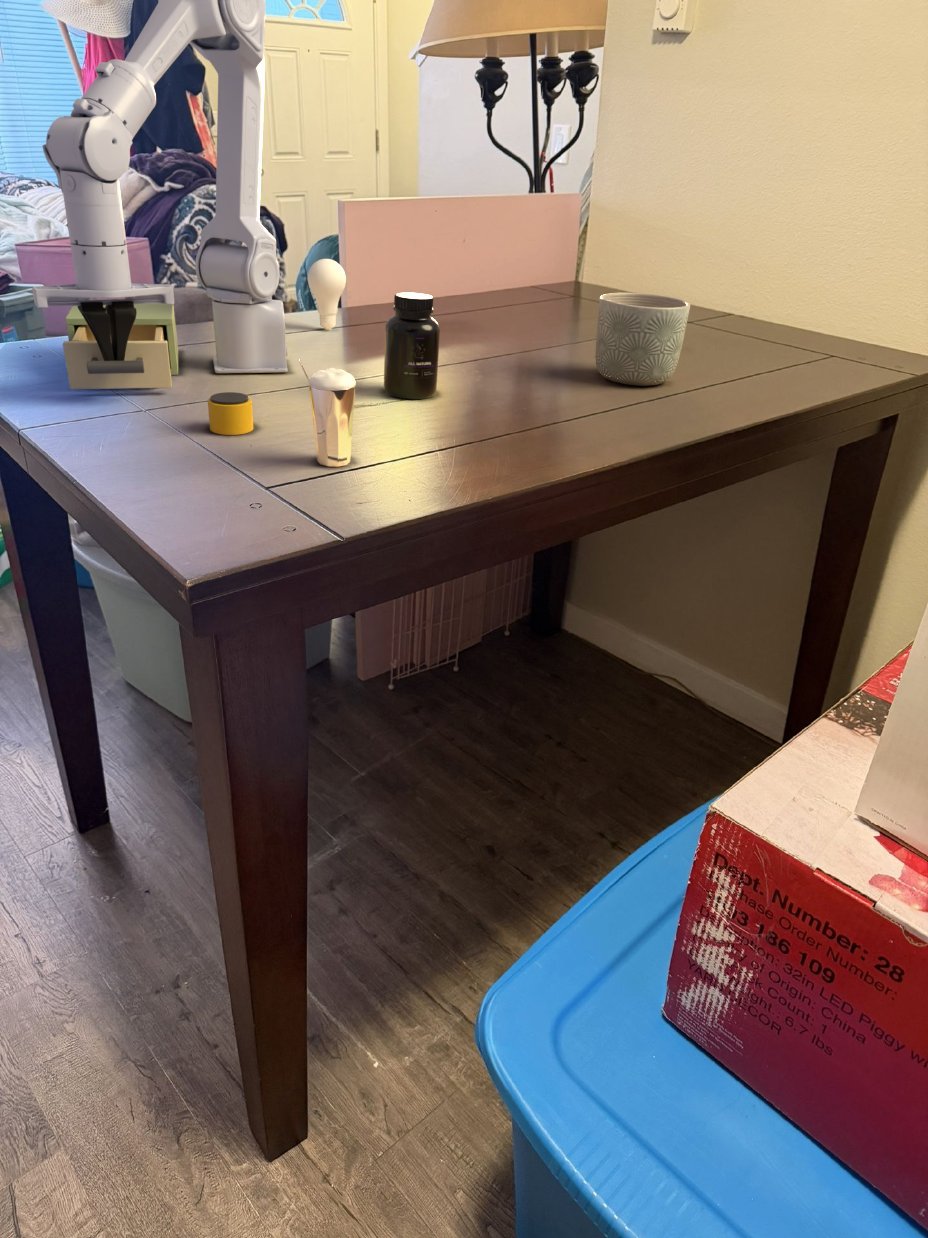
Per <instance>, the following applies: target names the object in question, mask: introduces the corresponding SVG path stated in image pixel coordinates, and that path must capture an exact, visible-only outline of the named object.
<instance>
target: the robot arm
mask: <svg viewBox="0 0 928 1238" xmlns="http://www.w3.org/2000/svg"><path fill="white" fill-rule="evenodd" d="M157 1H158V3H157V4H156V6H155V7H154V9H153V10H152V13H151V14H150V16H149V18H148V20H147V22H146V23H145V25H144V27H143V28H142V30H141V32H140V33H139V35H138V37H137V39H136V40H135V41H134V44H133V45H132V47H131V48H130V50H129V52H128V53H127V55H126V57H125V59H124V60H122V59H117V58H115V59H110V60H108V61H107V62H105V61H104V62H103V61H101V62H99V63H98V65H97V66H96V68H95V69H94V71H95V73H96V75H97V76H96V77H95V78H94V80H93V81H92V82H91V84H90V85H89V87H88V88H87V90H86V91H85V92H84V94H82V96H81V98H76V99H75V101H74V102H73V103H72V107H73V109H72V111H71V113H70V115H64V116H59V117H57V118H56V119H55V120H54V121H52V123H51V124H50V126H49V128H48V131H47V134H46V138H45V139H46V140H45V144H42V151H43V154H44V158H45V159H46V162H47V164H48V165H49V166H50V168H51V169H52V170H53V172H54V173H55V175H56V178H57V184H58V189H60V190H61V193H62V196H63V203H64V209H65V216H66V223H67V230H68V238H69V243H70V251H71V257H72V264H73V272H74V278H75V283H71V284H69V283H68V284H57V285H40V286H39V285H37V286H35V285H34V286H31V289H32V296H33V301H34V306H35V307H36V308H37V309H47V308H49V307H72V306H78V309H79V311H80V313H81V314H82V316H83V317H84V319H85V321H86V322H87V324H88V326H89V328H90V329H91V331H92V333H93V335H94V337H95V339H96V341H97V344H98V346H99V348H100V351H101V353H102V356H103V359H104V361H124V359H125V352H126V346H127V342H128V338H129V335H130V332H131V329H132V326H133V323H134V321H135V319H136V314H137V311H136V308H134V304H159V303H164V304H173V305H175V295H174V287H173V286H172V285H171V284H169V283H162V284H161V283H132V277H131V270H130V262H129V261H130V260H129V252H128V244H127V236H126V229H125V227H126V226H125V220H124V211H123V202H122V192H121V184H120V178H121V177H122V176H123V175H124V174H125V173H127V172H128V170H129V167H130V160H131V151H130V150H131V146H132V145H133V144H134V143H133V139H134V138H135V136H136V134H137V133H138V132H139V130H140V129H141V128H142V126H143V125H144V123H145V122H146V120H147V118H148V117H149V116H150V114H151V112H152V111H153V109H155V107H156V105H157V95H156V91H155V85H156V84H157V83H158V82H159V81H160V79H161V78H162V77H163V76H164V74H165V73H166V72H167V70H169V68H170V67H171V66H172V65H173V63H174V62H175V61H176V60H177V58H178V57H179V56H180V55H181V54H182V52H184V50H185V49H186V47H187V46H188V45H189V44H190V45H191V46H192V47H193V48H194V49H195V51H197V52H198V53H199V54H200V55H201V57H203V58H204V60H207V61H208V62H209V63H210V64H211V66H212V67H213V68H214V70H215V71H216V73H217V77H218V78H217V115H216V117H217V118H216V119H217V120H216V121H217V123H216V170H215V171H216V173H215V175H216V176H215V177H216V178H215V215H214V217H213V218H212V219H211V220H210V221H208V223H206V225H205V226H204V227H203V228H202V229H201V231H200V244H199V247H198V250H197V253H196V256H195V262H194V263H195V265H194V267H195V274H196V277H197V280H198V282H199V284H200V286H202V287H203V289H205V290H206V296H207V298H211V308H212V319H213V320H212V321H213V332H214V333H213V334H214V344H215V356H213V357H212V360H213V369H214V373H216V374H259V373H261V374H262V373H264V374H265V373H269V374H270V373H288V360H287V359H288V358H287V357H288V345H287V340H286V339H287V337H286V336H287V335H286V319H285V318H286V317H285V310H284V309H285V307H284V303H283V300H280V299H273V296H274V294H275V292H276V291H277V289H278V286H279V284H280V275H281V274H280V273H281V271H280V265H279V262H278V258H277V240H276V238H275V237H274V236H273V235H272V234H271V233H270V232H269V230H268V229H266V227H264V226H263V224H262V223H261V222H260V217H261V216H260V215H261V214H260V213H261V190H262V189H261V187H262V186H261V185H262V157H263V133H264V132H263V131H264V103H265V102H264V101H265V79H266V77H265V76H266V74H265V73H266V62H265V37H266V36H265V35H266V11H267V10H266V9H267V8H266V7H267V4H266V1H265V0H157ZM233 242H240V243H243V244H244V245H240V244H239V245H238V244H232V243H233ZM89 299H102V300H89ZM103 305H106V306H105V308H104V307H103ZM110 334H111V335H110ZM111 343H112V345H111Z"/></svg>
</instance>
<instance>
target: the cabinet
mask: <svg viewBox="0 0 928 1238" xmlns="http://www.w3.org/2000/svg"><path fill="white" fill-rule="evenodd" d="M102 299H103V298H90V299H89V300H102ZM174 305H175V304H164V303H159V304H134V308H136V311H137V314H136V319H135V321H134V323H133V325H163V330H164V339H165V341H167V344H168V353H169V363H170V372H171V376H178V375H179V345H178V344H179V343H178V336H177V335H178V333H177V326H176V325H177V324H176V314H175V307H174ZM105 306H106V305H103V307H104V308H105ZM64 321H65V325H66V332H67V338H68V341H72V339H73V337H74V335H75V333H76V331H77V329H78V327H79V325H88V324H87V322H86V321H85V319H84V317H83V316H82V314H81V313H80V311H79V309H78V306H71V308H70V309H69V311H68V313H67V314H66V317H65V319H64Z"/></svg>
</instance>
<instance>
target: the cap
mask: <svg viewBox="0 0 928 1238" xmlns="http://www.w3.org/2000/svg"><path fill="white" fill-rule="evenodd" d="M207 408H208V409H207V410H208V420H209V421H208V422H209V429H210V432H212V433H213V434H218V435H222V436H223V435H224V436H239V435H244V434H248V433H250V432H252V431H253V430H254V413H253V401H252V398H251V397H249V395H247V394H245V393H241V392H233V391H232V392H231V391H227V392H225V391H224V392H218V393H214V394H212V395H211V396H210V397H209V398H208V399H207Z"/></svg>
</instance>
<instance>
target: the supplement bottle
mask: <svg viewBox="0 0 928 1238" xmlns="http://www.w3.org/2000/svg"><path fill="white" fill-rule="evenodd" d="M393 297H394V299H393V306H392V309H393V311H394V312H395V314H394V315H393V316H391V317H389V318H388V319H387V321H386V322H385V328H384V362H383V364H384V365H383V366H384V367H383V368H384V369H383V390H384V391H385V393H386V394H387V395H389V396H392V397H393V398H399V399H405V400H424V399H429V398H432V397H434V396H435V395H436V393H437V387H438V372H439V353H440V352H439V351H440V336H441V335H440V334H441V328H440V325H439V323H438V322H437V321H436V319H434V318H433V317H432V314H433V313H434V297H433V296H432V295H430V294H427V293H419V292H418V293H417V292H399V293H395V294H394V296H393Z"/></svg>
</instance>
